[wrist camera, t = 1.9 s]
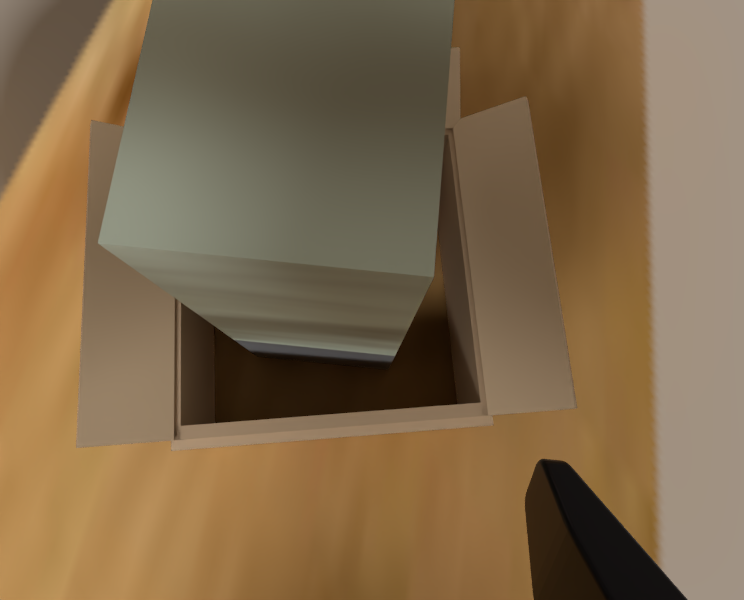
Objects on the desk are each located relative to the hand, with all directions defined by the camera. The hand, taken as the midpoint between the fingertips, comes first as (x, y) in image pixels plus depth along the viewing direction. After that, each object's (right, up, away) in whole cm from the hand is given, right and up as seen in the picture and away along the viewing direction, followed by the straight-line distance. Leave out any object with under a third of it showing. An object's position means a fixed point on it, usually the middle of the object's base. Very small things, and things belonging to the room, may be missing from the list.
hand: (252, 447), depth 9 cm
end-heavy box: (0, +2, +13) cm, 13 cm away
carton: (0, +2, +13) cm, 13 cm away
